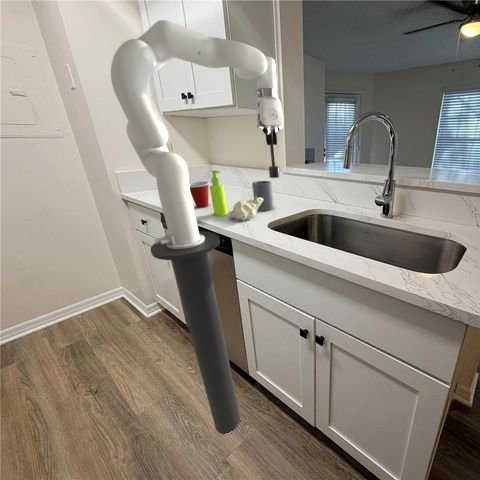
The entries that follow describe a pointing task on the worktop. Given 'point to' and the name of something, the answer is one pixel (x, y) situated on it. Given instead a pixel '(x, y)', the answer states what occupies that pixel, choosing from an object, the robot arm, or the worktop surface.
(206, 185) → the plastic cup
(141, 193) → the worktop surface
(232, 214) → the cream spiral shell
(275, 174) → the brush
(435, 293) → the worktop surface
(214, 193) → the soap dispenser
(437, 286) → the worktop surface
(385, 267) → the worktop surface
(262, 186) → the gray cup
